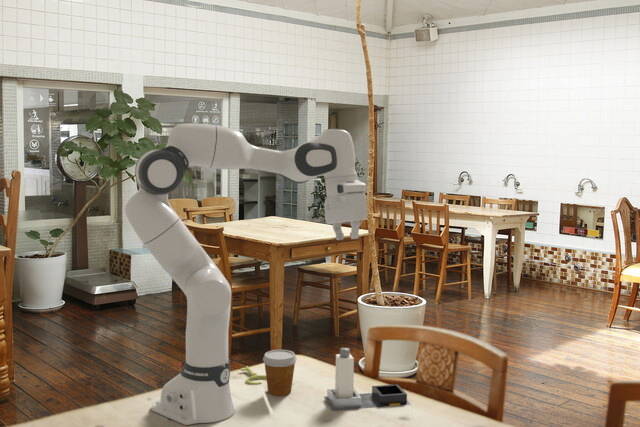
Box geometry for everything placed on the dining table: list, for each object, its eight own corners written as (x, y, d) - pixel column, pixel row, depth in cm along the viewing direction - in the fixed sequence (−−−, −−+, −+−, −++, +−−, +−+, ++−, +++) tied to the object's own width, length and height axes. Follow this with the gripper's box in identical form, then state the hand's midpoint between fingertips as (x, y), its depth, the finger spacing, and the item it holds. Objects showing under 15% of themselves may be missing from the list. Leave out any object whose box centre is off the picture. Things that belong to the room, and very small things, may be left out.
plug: (338, 405, 187) (339, 351, 186) (335, 400, 191) (335, 347, 189) (352, 404, 188) (354, 351, 186) (349, 398, 192) (350, 346, 190)
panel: (332, 414, 184) (332, 401, 184) (323, 400, 194) (323, 388, 193) (410, 407, 189) (410, 395, 189) (398, 394, 199) (398, 382, 198)
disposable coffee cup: (264, 388, 202) (264, 348, 200) (297, 389, 201) (297, 349, 200) (260, 401, 192) (260, 359, 191) (294, 402, 192) (295, 360, 190)
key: (246, 371, 217) (246, 365, 217) (272, 382, 208) (272, 375, 208) (228, 377, 212) (228, 370, 212) (254, 388, 203) (254, 381, 203)
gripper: (316, 192, 196) (321, 241, 196) (347, 185, 177) (352, 239, 177) (337, 191, 199) (342, 239, 198) (369, 184, 180) (374, 237, 179)
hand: (347, 239), depth 187 cm, fingers open, 8 cm apart
